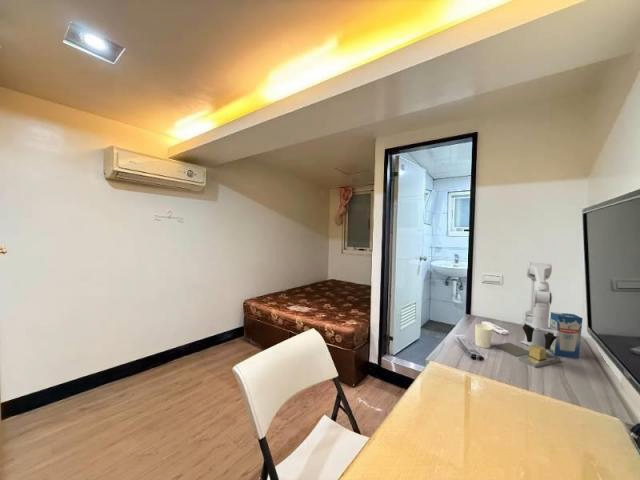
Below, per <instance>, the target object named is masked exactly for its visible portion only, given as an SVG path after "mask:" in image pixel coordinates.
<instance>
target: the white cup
mask: <svg viewBox="0 0 640 480" xmlns="http://www.w3.org/2000/svg"><path fill="white" fill-rule="evenodd" d="M493 331H494V328H493V327H492V326H490V325H487V324H481V323H477V324H475V326H474V338H475V340H474V341H475V342H474V343H475V345H476V346H477V347H478V348H479V347H480V348H482V349H483V348H484V349H489V348H491V342H492V339H493Z"/></svg>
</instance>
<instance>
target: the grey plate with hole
mask: <svg viewBox="0 0 640 480" xmlns="http://www.w3.org/2000/svg"><path fill="white" fill-rule="evenodd" d="M518 360H519V361H520V362H523V363H525V364H527V365H529V366H531V367H533V368H539V367H542V366H547V365H551V364H556V363H560V362H561V360H562V358H561V356H555V355H553V354H552V353H551V352H549V351H548V352H547V351H546V359H545V360H544V361H538V360H536V359H533V358H531V357H529V354H527V355H522V356H518Z"/></svg>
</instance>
